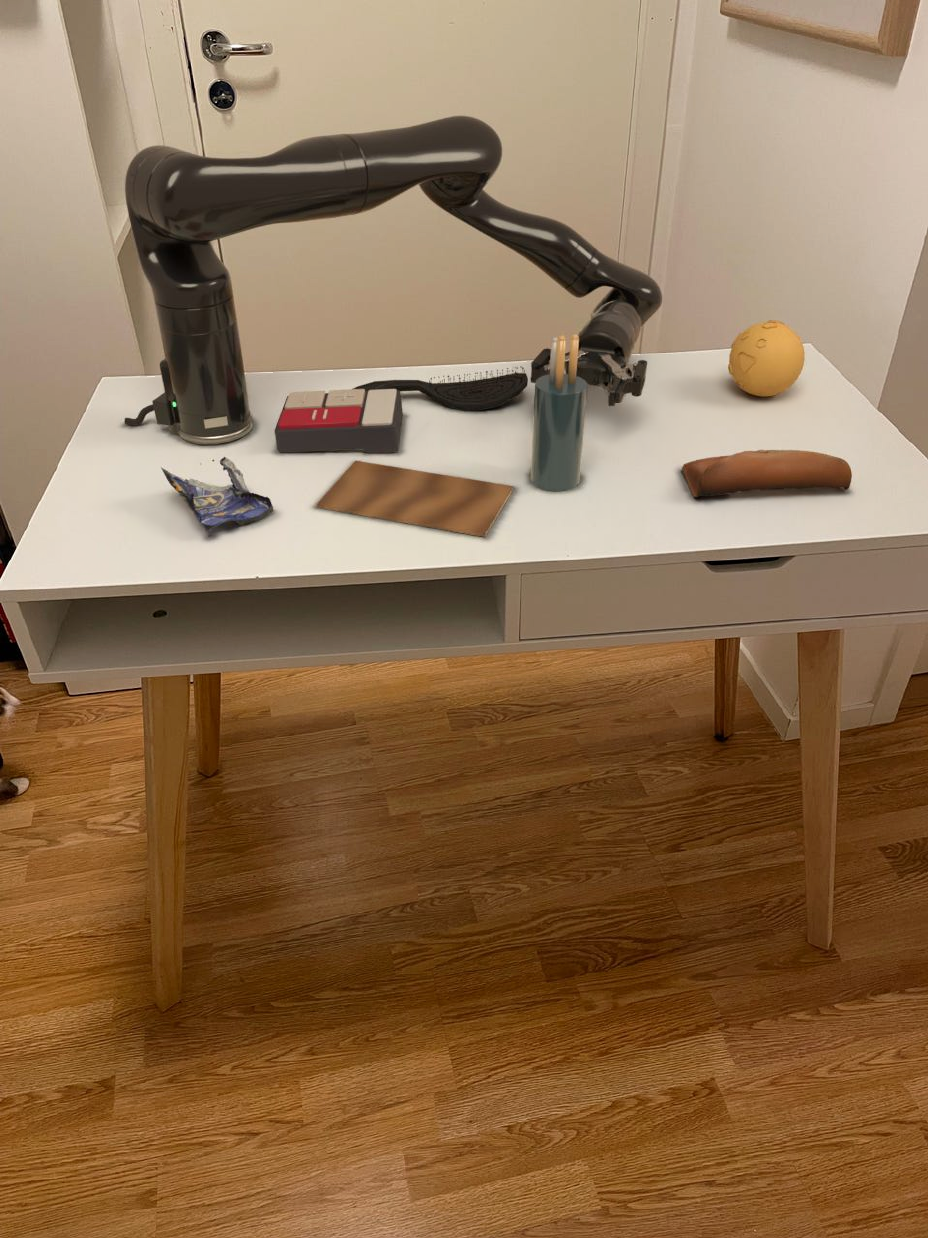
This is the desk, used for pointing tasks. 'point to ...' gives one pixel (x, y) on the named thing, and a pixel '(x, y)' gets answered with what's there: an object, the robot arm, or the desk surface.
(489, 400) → the hairbrush
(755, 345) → the stress ball
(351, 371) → the desk surface
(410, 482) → the brown wooden board
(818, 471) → the sunglasses case
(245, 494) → the snack package
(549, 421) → the cutlery holder
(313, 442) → the calculator
